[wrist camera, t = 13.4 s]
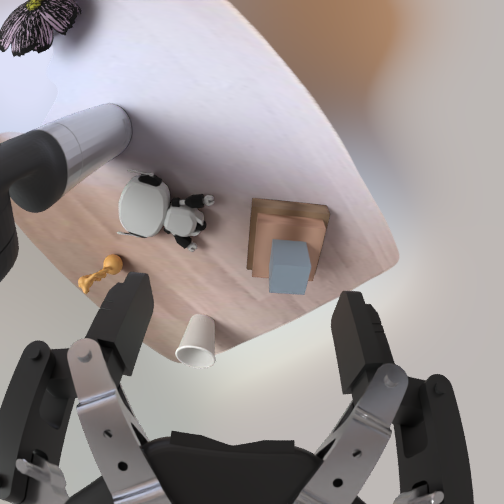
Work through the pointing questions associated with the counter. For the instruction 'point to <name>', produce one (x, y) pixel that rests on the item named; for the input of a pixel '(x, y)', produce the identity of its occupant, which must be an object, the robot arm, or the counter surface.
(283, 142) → the counter surface
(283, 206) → the wooden stepped block
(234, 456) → the robot arm
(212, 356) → the dixie cup
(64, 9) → the decorative flower
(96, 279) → the figurine
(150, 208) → the robot toy
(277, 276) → the slate brick
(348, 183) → the counter surface
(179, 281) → the counter surface
